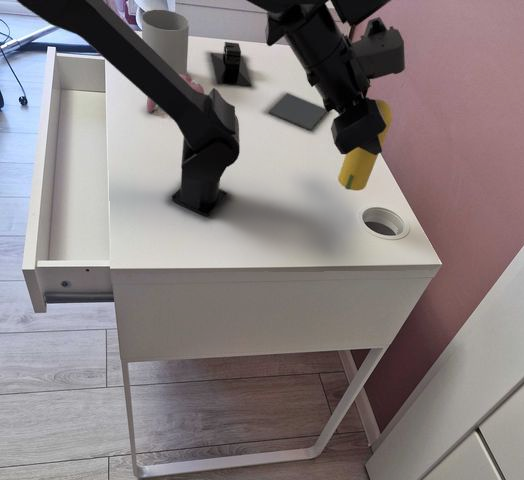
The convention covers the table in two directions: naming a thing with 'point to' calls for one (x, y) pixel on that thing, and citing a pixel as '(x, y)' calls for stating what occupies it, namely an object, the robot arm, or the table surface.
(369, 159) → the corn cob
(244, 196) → the table surface
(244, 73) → the dark flat-based piece
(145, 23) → the cup
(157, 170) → the table surface
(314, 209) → the table surface
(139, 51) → the robot arm
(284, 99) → the coaster
